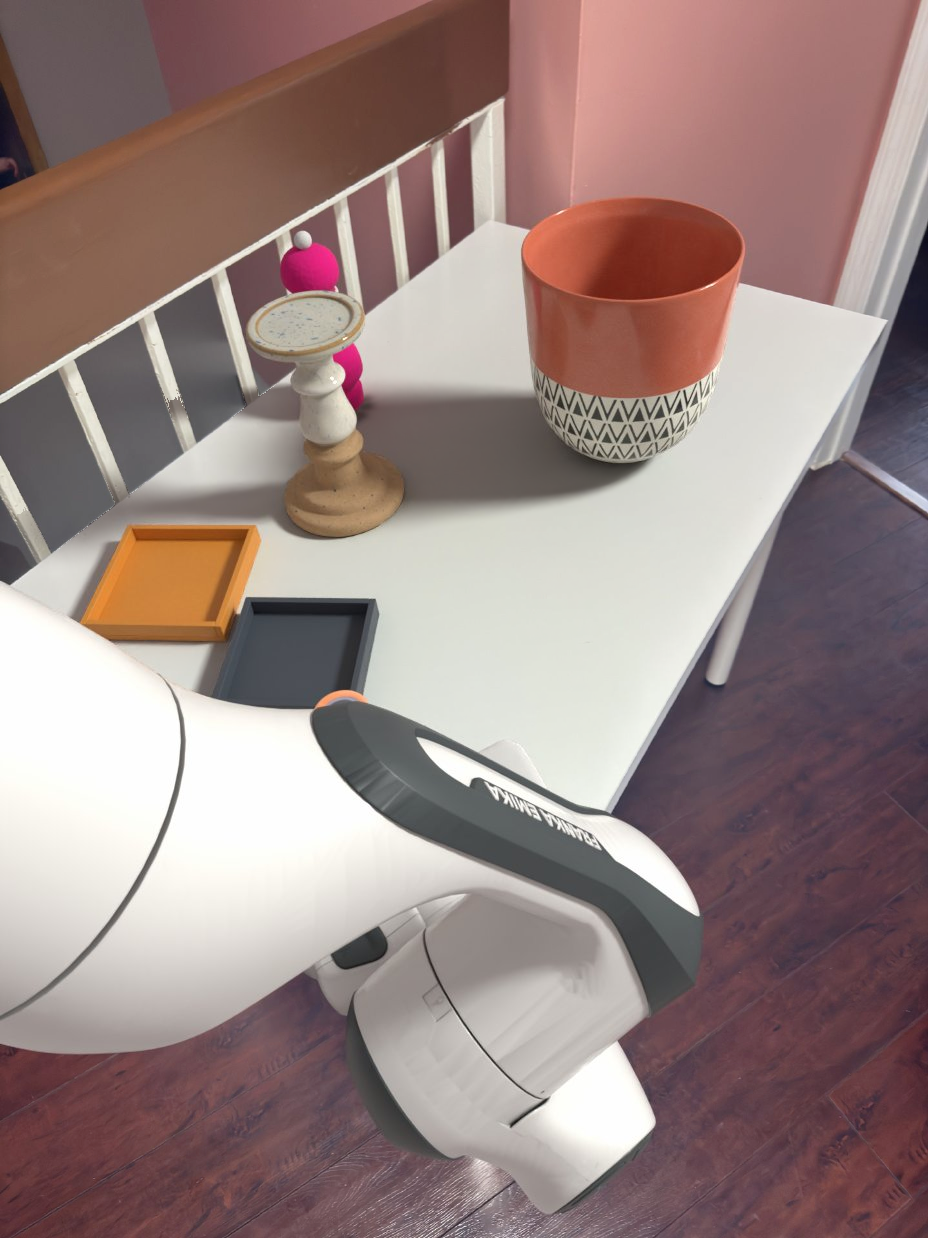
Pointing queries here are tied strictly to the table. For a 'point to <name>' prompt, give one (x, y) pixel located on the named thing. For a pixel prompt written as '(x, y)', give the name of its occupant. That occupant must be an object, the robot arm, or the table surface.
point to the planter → (628, 320)
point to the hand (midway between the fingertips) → (358, 764)
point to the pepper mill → (320, 271)
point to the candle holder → (326, 415)
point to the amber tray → (173, 583)
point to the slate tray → (297, 651)
